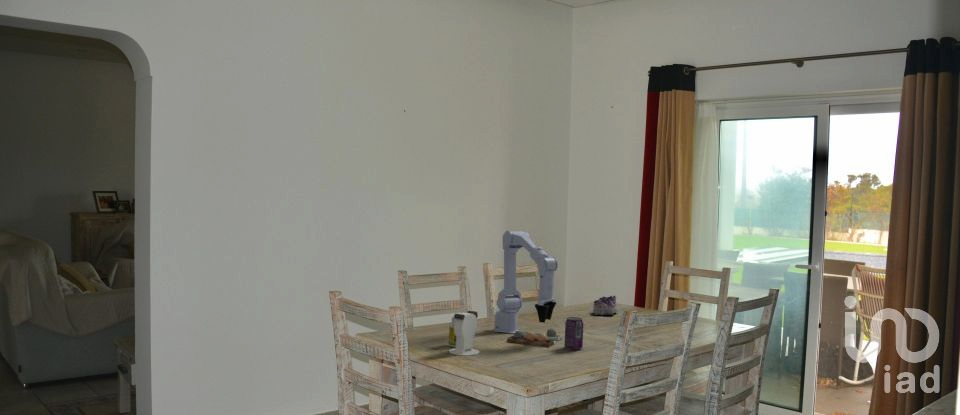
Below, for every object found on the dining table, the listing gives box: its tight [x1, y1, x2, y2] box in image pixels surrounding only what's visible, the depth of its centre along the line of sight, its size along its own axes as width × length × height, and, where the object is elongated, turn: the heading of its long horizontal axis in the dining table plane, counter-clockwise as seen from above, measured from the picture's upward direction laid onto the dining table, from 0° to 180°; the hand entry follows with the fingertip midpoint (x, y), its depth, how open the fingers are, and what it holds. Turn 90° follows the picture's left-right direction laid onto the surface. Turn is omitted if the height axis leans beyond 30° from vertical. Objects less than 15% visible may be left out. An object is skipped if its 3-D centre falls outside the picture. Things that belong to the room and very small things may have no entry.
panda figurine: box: [449, 310, 480, 357], centre depth 287 cm, size 12×11×15 cm
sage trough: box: [521, 330, 564, 344], centre depth 316 cm, size 18×11×2 cm, turn 67°
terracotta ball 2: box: [537, 332, 547, 343], centre depth 305 cm, size 4×4×4 cm
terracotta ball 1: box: [526, 331, 536, 341], centre depth 307 cm, size 4×4×4 cm
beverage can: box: [564, 316, 584, 351], centre depth 300 cm, size 7×7×12 cm
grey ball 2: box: [546, 327, 557, 337], centre depth 316 cm, size 4×4×4 cm
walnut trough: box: [506, 335, 555, 348], centre depth 307 cm, size 18×6×2 cm, turn 67°
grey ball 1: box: [513, 330, 524, 340], centre depth 309 cm, size 4×4×4 cm
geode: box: [592, 295, 618, 316], centre depth 385 cm, size 20×12×10 cm, turn 159°
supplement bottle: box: [448, 315, 456, 348], centre depth 297 cm, size 6×6×11 cm
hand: (545, 320), depth 306 cm, fingers open, 7 cm apart
